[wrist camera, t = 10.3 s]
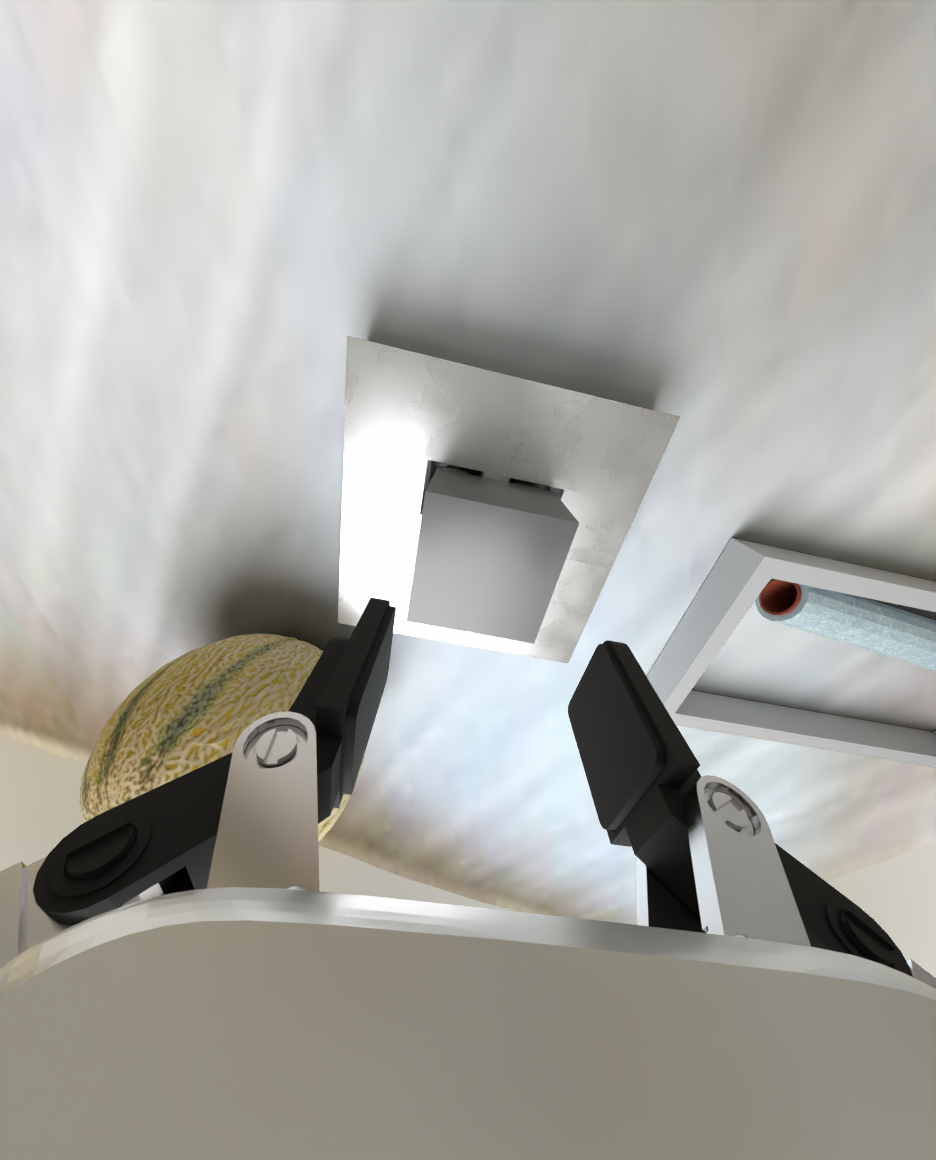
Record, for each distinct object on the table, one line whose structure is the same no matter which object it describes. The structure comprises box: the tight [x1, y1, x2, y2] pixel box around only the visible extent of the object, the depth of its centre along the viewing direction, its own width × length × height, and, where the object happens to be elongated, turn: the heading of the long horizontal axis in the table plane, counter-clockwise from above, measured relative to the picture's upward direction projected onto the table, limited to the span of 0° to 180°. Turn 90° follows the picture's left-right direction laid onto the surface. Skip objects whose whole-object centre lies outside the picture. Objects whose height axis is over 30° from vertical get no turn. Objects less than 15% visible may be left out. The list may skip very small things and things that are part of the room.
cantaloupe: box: [80, 634, 364, 842], centre depth 22 cm, size 15×15×15 cm
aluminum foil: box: [756, 579, 936, 671], centre depth 24 cm, size 23×7×3 cm, turn 73°
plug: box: [407, 467, 579, 644], centre depth 19 cm, size 6×6×8 cm
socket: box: [338, 336, 680, 663], centre depth 21 cm, size 16×16×3 cm
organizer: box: [647, 538, 936, 768], centre depth 26 cm, size 14×29×3 cm, turn 78°
